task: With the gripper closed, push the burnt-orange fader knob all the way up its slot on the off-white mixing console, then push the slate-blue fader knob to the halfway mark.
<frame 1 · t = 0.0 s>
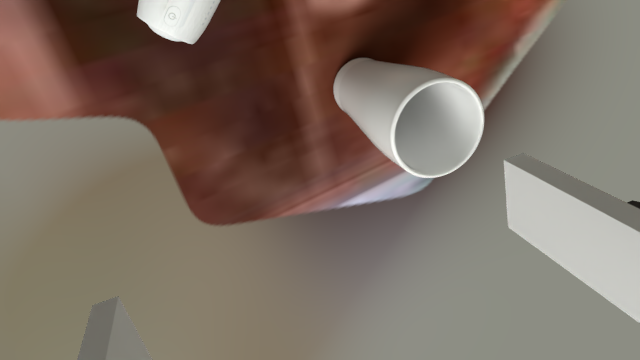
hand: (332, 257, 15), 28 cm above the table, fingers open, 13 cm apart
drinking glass: (358, 85, 43), on the table
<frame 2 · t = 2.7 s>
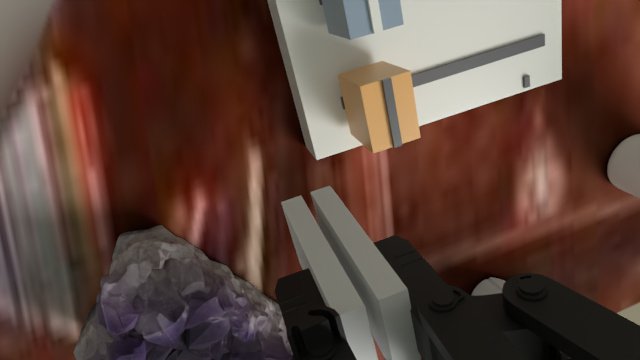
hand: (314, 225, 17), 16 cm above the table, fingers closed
fader console: (412, 19, 32), on the table
geode: (213, 313, 37), on the table
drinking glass: (626, 159, 43), on the table
orange fader: (378, 105, 28), point 6 cm above the table, slide at 0.0 cm
slotted white capsule: (508, 300, 46), on the table
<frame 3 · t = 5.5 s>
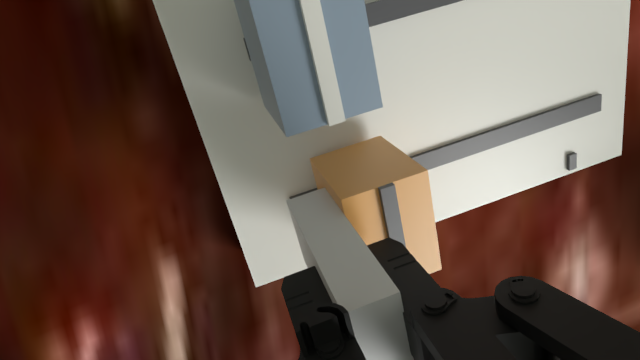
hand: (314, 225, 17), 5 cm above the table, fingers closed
fader console: (403, 70, 22), on the table
slate fader: (303, 46, 14), point 6 cm above the table, slide at 0.0 cm
orange fader: (373, 212, 17), point 6 cm above the table, slide at 1.1 cm, touching gripper
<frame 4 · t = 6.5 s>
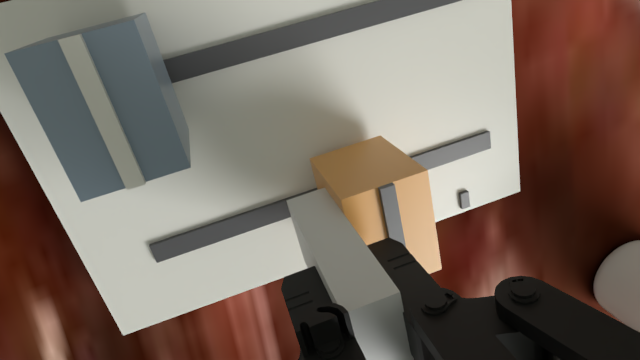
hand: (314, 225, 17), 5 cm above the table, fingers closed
fader console: (284, 106, 21), on the table
slate fader: (115, 99, 14), point 6 cm above the table, slide at 0.0 cm
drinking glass: (619, 269, 31), on the table
orange fader: (373, 212, 17), point 6 cm above the table, slide at 6.9 cm, touching gripper
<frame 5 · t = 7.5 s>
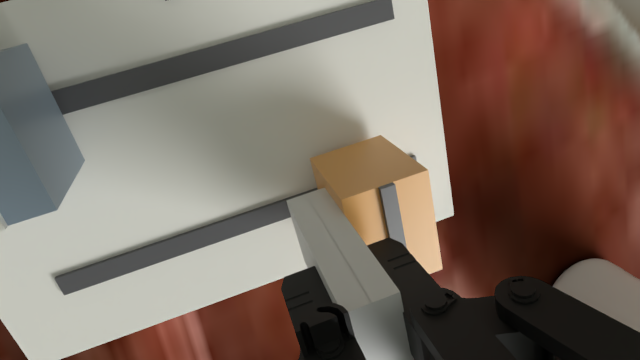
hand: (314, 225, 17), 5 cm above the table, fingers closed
fader console: (206, 130, 20), on the table
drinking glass: (575, 288, 31), on the table
orange fader: (374, 212, 17), point 6 cm above the table, slide at 10.5 cm, touching gripper
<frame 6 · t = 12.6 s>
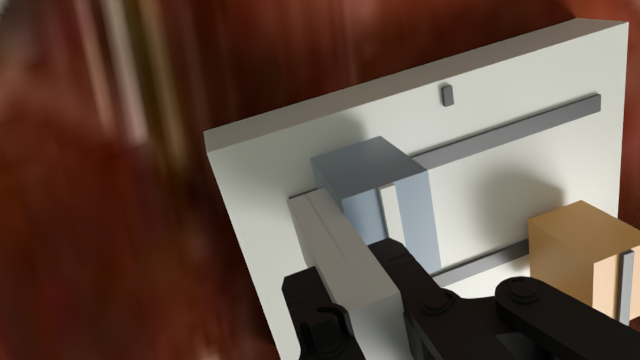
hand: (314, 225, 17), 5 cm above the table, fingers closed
fader console: (420, 192, 24), on the table
slate fader: (373, 212, 17), point 6 cm above the table, slide at 1.2 cm, touching gripper
orange fader: (587, 265, 22), point 6 cm above the table, slide at 10.7 cm
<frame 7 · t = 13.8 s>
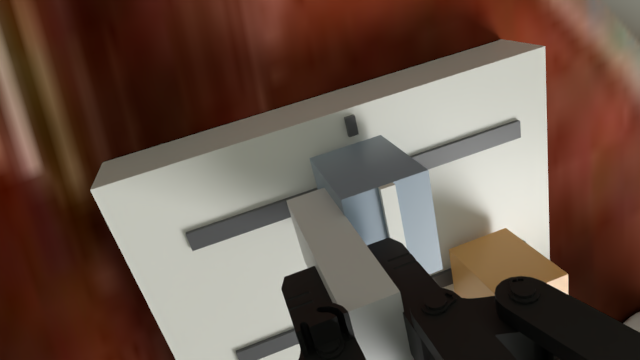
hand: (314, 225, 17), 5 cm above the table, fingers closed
fader console: (345, 218, 24), on the table
slate fader: (374, 212, 17), point 6 cm above the table, slide at 5.5 cm, touching gripper
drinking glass: (634, 332, 34), on the table
orange fader: (507, 297, 21), point 6 cm above the table, slide at 10.7 cm
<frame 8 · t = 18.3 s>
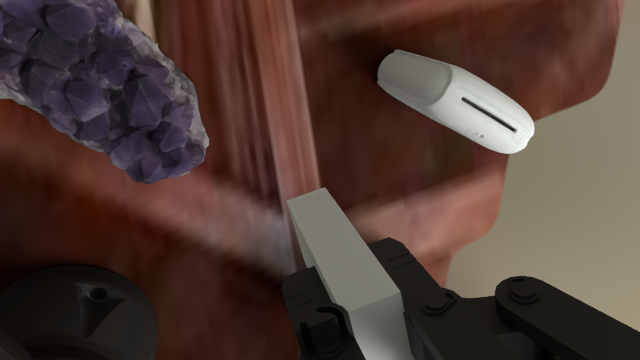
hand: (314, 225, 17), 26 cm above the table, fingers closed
geode: (104, 66, 38), on the table
slotted white capsule: (419, 87, 46), on the table
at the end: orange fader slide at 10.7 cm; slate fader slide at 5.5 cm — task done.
